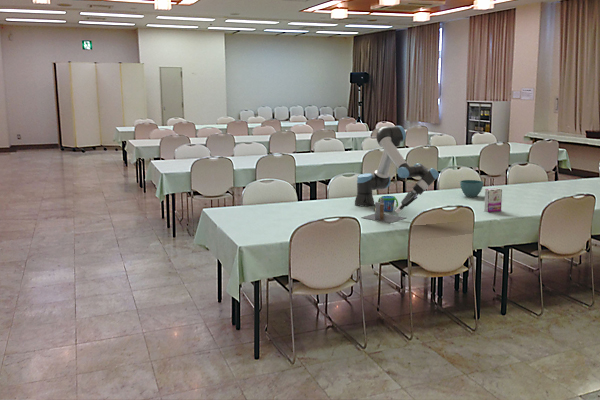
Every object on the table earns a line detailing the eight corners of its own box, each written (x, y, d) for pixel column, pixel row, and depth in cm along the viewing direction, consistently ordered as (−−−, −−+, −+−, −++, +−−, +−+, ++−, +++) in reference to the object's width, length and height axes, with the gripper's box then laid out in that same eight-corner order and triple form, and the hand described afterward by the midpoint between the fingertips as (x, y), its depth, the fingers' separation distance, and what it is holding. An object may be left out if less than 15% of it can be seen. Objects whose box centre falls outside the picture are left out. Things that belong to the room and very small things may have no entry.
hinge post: (377, 214, 410) (378, 197, 408) (384, 214, 410) (385, 197, 407) (377, 215, 405) (378, 198, 403) (385, 215, 405) (385, 199, 402)
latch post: (375, 219, 395) (375, 202, 393) (379, 219, 395) (379, 202, 392) (374, 220, 390) (375, 203, 388) (379, 220, 390) (379, 203, 387)
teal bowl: (455, 195, 477) (455, 180, 474) (474, 193, 482) (474, 179, 480) (467, 199, 460) (468, 184, 458) (487, 197, 465) (488, 182, 463)
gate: (379, 214, 406) (379, 200, 403) (383, 214, 405) (383, 200, 403) (379, 219, 392) (379, 204, 390) (383, 219, 391) (383, 204, 389)
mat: (361, 217, 399) (361, 217, 399) (378, 213, 413) (378, 212, 413) (389, 223, 383) (389, 222, 383) (406, 218, 397) (406, 217, 397)
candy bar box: (497, 210, 420) (498, 187, 417) (501, 211, 415) (502, 189, 412) (483, 211, 417) (484, 188, 414) (487, 212, 413) (488, 190, 409)
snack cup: (374, 210, 423) (375, 196, 421) (383, 207, 431) (383, 194, 429) (392, 213, 413) (393, 199, 411) (400, 210, 420) (401, 197, 418)
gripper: (427, 192, 388) (403, 217, 388) (420, 189, 400) (396, 213, 401) (420, 185, 386) (395, 210, 386) (413, 181, 398) (389, 206, 399)
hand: (396, 212), depth 394 cm, fingers closed
